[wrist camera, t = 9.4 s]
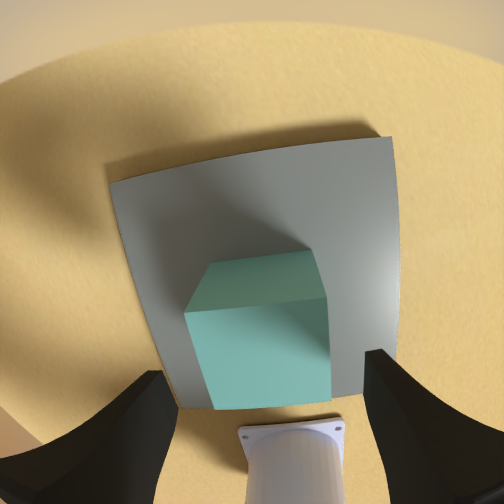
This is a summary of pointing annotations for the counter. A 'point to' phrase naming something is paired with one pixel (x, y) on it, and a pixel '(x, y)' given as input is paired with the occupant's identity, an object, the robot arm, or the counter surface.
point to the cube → (262, 332)
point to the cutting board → (270, 243)
